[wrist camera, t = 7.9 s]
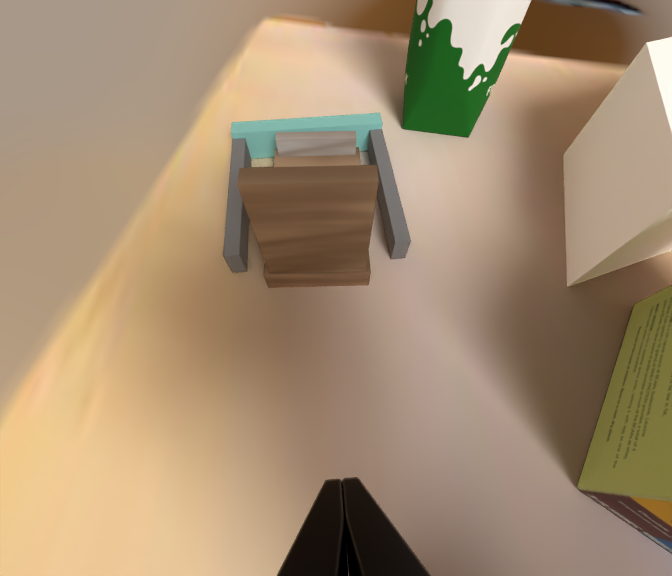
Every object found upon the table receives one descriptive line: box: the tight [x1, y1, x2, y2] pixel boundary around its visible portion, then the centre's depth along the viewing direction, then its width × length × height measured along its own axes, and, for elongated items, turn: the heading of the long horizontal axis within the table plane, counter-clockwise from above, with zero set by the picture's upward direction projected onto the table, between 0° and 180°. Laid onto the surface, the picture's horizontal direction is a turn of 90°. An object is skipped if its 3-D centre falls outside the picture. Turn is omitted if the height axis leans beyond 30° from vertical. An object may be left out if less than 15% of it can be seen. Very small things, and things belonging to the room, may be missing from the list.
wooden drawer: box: [237, 131, 379, 288], centre depth 24 cm, size 14×8×11 cm, turn 2°
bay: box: [223, 113, 411, 273], centre depth 29 cm, size 15×14×3 cm
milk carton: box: [403, 0, 531, 137], centre depth 27 cm, size 9×9×20 cm
